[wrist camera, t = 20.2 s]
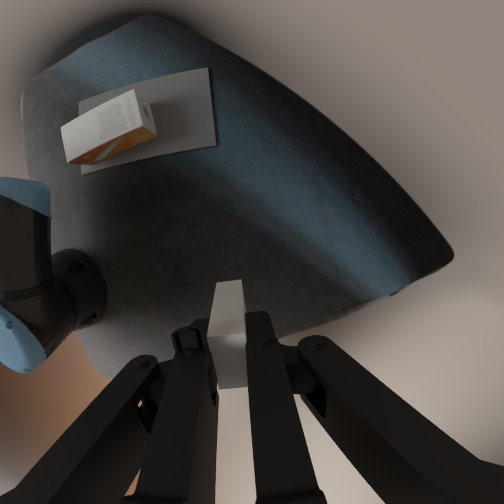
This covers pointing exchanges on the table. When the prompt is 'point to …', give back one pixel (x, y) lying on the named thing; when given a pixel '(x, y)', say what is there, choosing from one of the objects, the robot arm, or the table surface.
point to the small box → (108, 129)
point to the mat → (165, 116)
